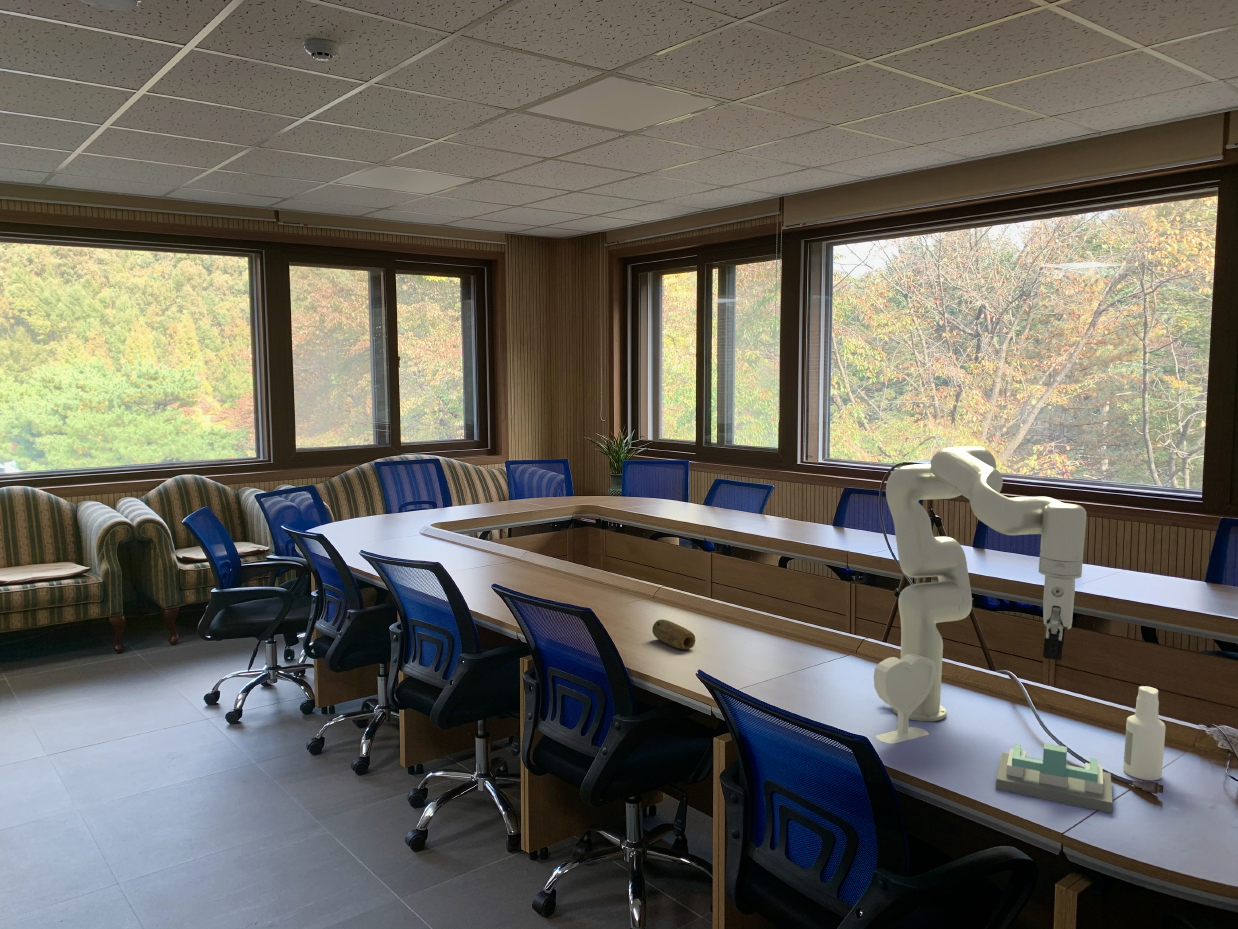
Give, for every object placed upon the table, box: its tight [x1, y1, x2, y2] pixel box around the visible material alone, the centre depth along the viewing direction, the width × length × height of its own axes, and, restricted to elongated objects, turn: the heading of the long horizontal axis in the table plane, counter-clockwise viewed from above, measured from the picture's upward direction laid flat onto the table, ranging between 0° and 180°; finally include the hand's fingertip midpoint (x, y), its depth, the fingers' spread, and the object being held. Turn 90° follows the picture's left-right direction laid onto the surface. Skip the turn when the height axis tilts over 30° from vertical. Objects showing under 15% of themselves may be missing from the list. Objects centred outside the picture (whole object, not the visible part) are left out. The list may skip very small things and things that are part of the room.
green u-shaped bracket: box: [1012, 742, 1098, 782], centre depth 174 cm, size 15×10×5 cm, turn 62°
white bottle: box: [1122, 685, 1167, 782], centre depth 180 cm, size 7×7×18 cm
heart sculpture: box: [873, 654, 936, 745], centre depth 198 cm, size 16×5×18 cm, turn 118°
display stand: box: [995, 747, 1113, 814], centre depth 175 cm, size 20×14×4 cm
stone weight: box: [651, 619, 696, 650], centre depth 263 cm, size 15×7×7 cm, turn 38°
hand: (1053, 651), depth 173 cm, fingers open, 9 cm apart
